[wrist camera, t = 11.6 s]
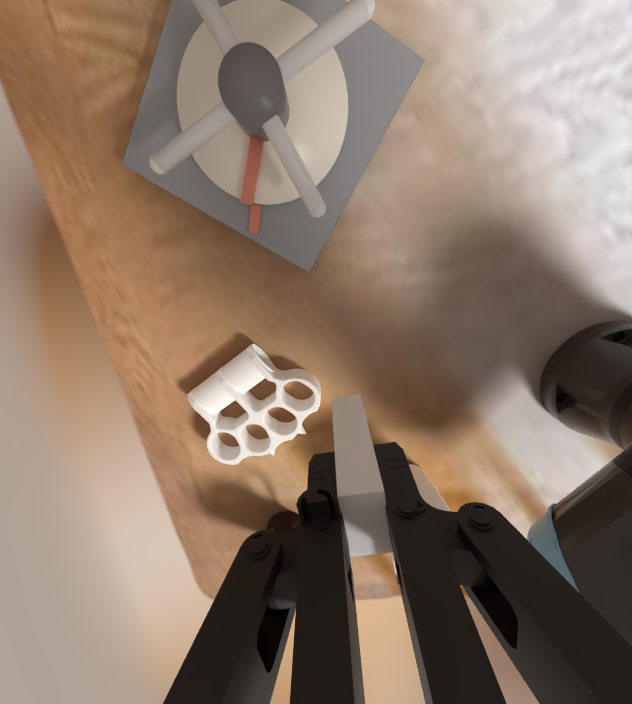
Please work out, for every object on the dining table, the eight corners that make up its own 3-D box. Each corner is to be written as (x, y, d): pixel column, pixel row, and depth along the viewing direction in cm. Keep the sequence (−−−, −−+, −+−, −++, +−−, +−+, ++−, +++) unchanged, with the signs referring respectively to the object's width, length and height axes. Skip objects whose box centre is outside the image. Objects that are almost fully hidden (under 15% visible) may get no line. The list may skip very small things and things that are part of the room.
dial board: (418, 70, 31) (425, 57, 29) (309, 271, 38) (308, 273, 35) (211, -82, 28) (201, -111, 25) (132, 168, 34) (119, 163, 32)
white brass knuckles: (273, 325, 41) (340, 405, 44) (176, 400, 45) (245, 467, 48) (269, 333, 37) (342, 418, 41) (165, 413, 41) (240, 484, 45)
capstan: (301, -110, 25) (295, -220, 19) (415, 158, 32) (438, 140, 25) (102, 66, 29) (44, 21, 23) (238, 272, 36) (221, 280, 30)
